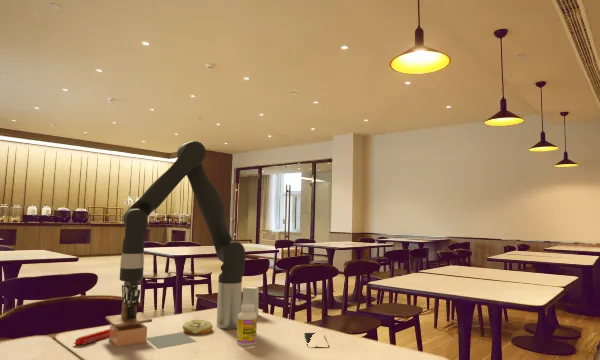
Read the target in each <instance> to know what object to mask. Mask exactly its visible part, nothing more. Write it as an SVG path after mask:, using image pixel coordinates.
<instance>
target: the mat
mask: <svg viewBox="0 0 600 360" xmlns="http://www.w3.org/2000/svg"><path fill="white" fill-rule="evenodd" d="M146 341H148V342H149V343H151V344H152V345H153V346H154V347H155V348H157V349H158V350H160V349H165V348H170V347H176V346H182V345H186V344H192V343H197V341H196V340H195V339H194V338H192V337H190V336H188V335H187V334H186V333H185V332H182V331H180V332H173V333H169V334H168V333H167V334H163V335H157V336H152V337H151V336H150V337H147V339H146Z"/></svg>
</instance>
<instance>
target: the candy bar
mask: <svg viewBox="0 0 600 360" xmlns="http://www.w3.org/2000/svg"><path fill="white" fill-rule="evenodd" d="M109 336H110V328H106V329H103V330H100V331H96V332H92V333H90V334H86V335H83V336H79V337H77V338H76V339H75V342H74V343H73V345H75V346H82V345H86V344H91V343H94V342H97V341H101V340H104V339H106V338H109Z"/></svg>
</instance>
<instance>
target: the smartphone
mask: <svg viewBox="0 0 600 360" xmlns="http://www.w3.org/2000/svg"><path fill="white" fill-rule="evenodd" d="M315 333H316V332H305V333H303V336H304V335H305V336H304V339H306V340H305V343H306V342H307V343H309V342H310V340H311V339H310V338H311V337H312V335H313V334H315ZM307 346H308V344H306V347H307Z"/></svg>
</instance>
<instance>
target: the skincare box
mask: <svg viewBox="0 0 600 360" xmlns="http://www.w3.org/2000/svg"><path fill="white" fill-rule="evenodd" d="M242 301H243V304H253V305H255V309H254V312H255V313H256V314H257V316H258V315H259V286H246V285H245V286H244V287H243V288H242Z"/></svg>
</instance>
